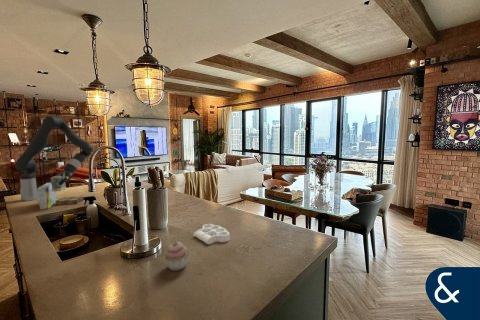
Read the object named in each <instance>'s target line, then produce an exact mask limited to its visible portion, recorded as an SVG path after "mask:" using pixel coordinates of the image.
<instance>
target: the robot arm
mask: <svg viewBox="0 0 480 320" xmlns="http://www.w3.org/2000/svg"><path fill="white" fill-rule="evenodd" d="M53 129H58V130H60V131H62V133H64V135H65V137H66V139H67V140H68V141H69V142H70V144H71V143H72V145H74V147H78V148H80V149H81V150H80V152H78V153H75V154H74V156H73V157H72V158H71V159H70V160H69V161H68V162H67V163H66V164H65V165H64V166H63V168H62V169H63V171H62V170H60V171H58V172H57V174H55V176H63V180H61V181H60V182H59V183H58V184H59V185H62V184H63V183H64V182H65V183H66V182H67V181H69V180H70V179H71V178H72V176H73V175H74V173H75V172H76V171H77V170H78V169H79V168H80V167H81V165H82V164H83V162H84V161H85V160H86V159H87V158H88V157H90V156H91V155H92V154H91V152H92V153H93V152H94V151H93V147H92V145H91V144H90V143H89V142H88V141H87V140H85V139H83V138H81V136H79V135H78V134H77V133H76V132H74V130H72V129H71V127H70V126H68V124H67V123H66V122H65V121H64V119H63V118H61V117H60V116H57V115H56V116H55V115H49V116H45V118H44V119H43V121H42V122H41V125H40V126H39V129H38V131H37V132H36V134H35V135H34V137H33V138H32V139H31V141H30V143H29V144H28V146H27V147H26V149H25V150H24V151H23V153H22V154H21V155H20V156H19V157H18V158H17V159H16V161H15V164H14V166H15V167H14V168H15V169H16V170H17V171H21V172H22V171H24V172H23V173H21V175H20V176H19V181H20V189H19V192H20V201H21V202H22V201H23V202H26V201H29V202H30V201H34V200H38V196H37V190H36V189H37V187H38V186H37V180H36V178H37V177H36V175H37V163H36V161H35V160H34V157H35V156H37V155H38V154H40V153H42V152H43V151H44V150H45V148H46V147H47V145H48V143H49V135H50V132H51V131H52V130H53ZM90 154H91V155H90Z"/></svg>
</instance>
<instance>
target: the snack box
mask: <svg viewBox="0 0 480 320" xmlns="http://www.w3.org/2000/svg"><path fill="white" fill-rule="evenodd" d="M36 190H37V196H38V199H37V201H38V202H37V203H38V209H39V211H40V210H49V208H51V206H53V205H54V204H56V200H58V199H57V193H56V192H57V191H54V192H52V183H51V182H46V183H45V184H42V185H41V186H39V187H38V188H37V189H36Z"/></svg>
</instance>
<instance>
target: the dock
mask: <svg viewBox="0 0 480 320" xmlns="http://www.w3.org/2000/svg"><path fill="white" fill-rule="evenodd" d="M83 197H84V196H67V197H62V198H59V199H57V200H56V202H55V205H56V206H62V205H63V206H64V205H77V204H80V203H82V202H83V201H84V200H83Z"/></svg>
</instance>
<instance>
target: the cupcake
mask: <svg viewBox="0 0 480 320" xmlns="http://www.w3.org/2000/svg"><path fill="white" fill-rule="evenodd" d="M189 255H190V251H189V250H188V249H187V247H186V245H185V244H183V243H182V242H180V241H174V242H173V243H172V244H170V245H169V246H168V248H167V249H166V251H165V254H164V255H163V257H164V260H165V262H166V263H167V267H168V268H169V270H170V271H174V272H175V271H176V272H177V271H180V270H183V269H185V267H186V266H187V262H188V259H189V258H188V257H189Z"/></svg>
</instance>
